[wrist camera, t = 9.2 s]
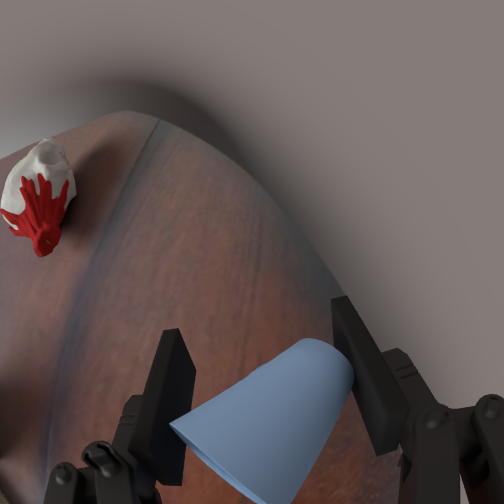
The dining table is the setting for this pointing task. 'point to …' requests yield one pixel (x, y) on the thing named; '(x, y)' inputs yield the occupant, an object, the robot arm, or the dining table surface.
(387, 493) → the dining table surface
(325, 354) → the spotlight
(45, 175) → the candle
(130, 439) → the robot arm
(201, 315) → the dining table surface
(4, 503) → the book
